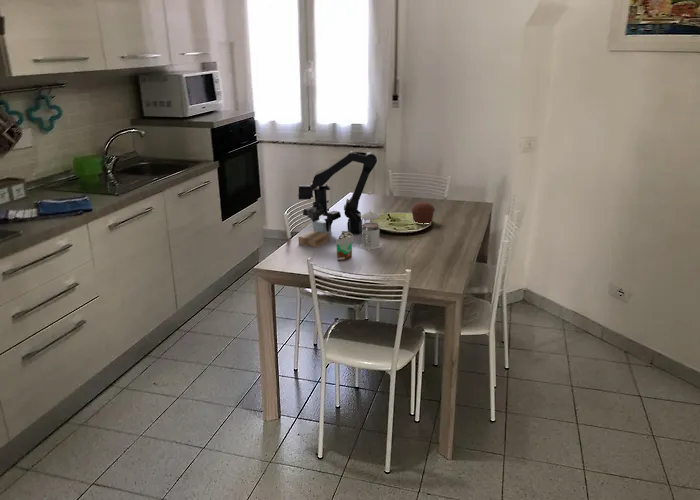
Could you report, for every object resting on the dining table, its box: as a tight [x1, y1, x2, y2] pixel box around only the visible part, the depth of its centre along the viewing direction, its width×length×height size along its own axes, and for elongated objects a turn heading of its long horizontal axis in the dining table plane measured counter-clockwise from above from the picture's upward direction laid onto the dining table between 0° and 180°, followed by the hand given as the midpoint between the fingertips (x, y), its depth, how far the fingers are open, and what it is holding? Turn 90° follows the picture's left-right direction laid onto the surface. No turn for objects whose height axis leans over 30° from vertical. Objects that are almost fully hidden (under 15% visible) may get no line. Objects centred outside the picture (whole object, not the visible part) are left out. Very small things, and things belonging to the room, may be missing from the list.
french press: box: [359, 191, 383, 250], centre depth 256 cm, size 10×12×25 cm
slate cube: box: [312, 218, 332, 234], centre depth 277 cm, size 6×6×6 cm
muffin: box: [410, 201, 436, 224], centre depth 287 cm, size 12×11×10 cm
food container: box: [335, 230, 355, 262], centre depth 245 cm, size 12×6×10 cm, turn 168°
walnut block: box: [297, 230, 330, 248], centre depth 265 cm, size 10×10×4 cm
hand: (322, 230), depth 278 cm, fingers closed on slate cube, 6 cm apart
